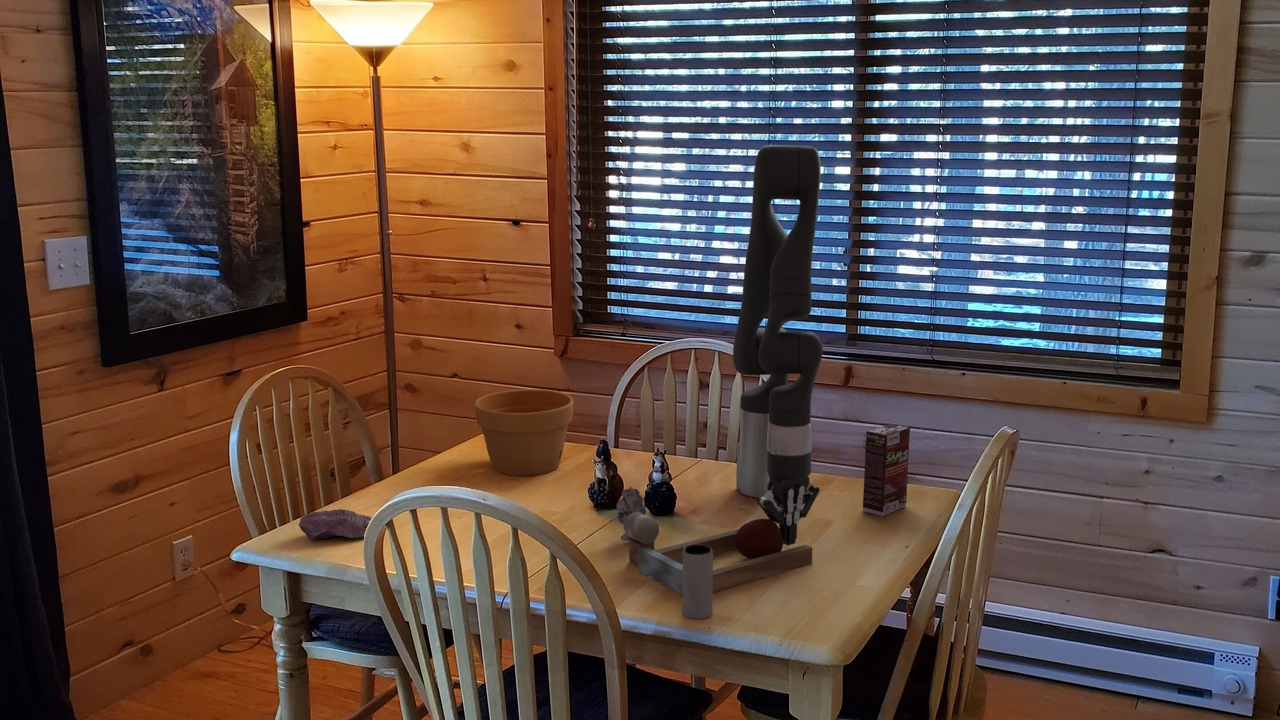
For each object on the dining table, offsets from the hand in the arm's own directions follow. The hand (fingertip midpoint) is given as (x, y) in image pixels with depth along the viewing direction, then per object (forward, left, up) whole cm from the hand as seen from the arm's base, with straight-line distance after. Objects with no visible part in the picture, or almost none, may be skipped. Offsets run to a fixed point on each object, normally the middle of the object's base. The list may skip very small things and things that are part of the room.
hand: (787, 543), depth 206 cm
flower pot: (-71, -12, -2) cm, 72 cm away
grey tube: (+12, -29, -2) cm, 31 cm away
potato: (0, -7, -2) cm, 7 cm away
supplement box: (-6, +30, -2) cm, 31 cm away
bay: (-2, -14, -1) cm, 14 cm away
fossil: (-52, -61, -2) cm, 80 cm away
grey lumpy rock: (-20, -19, -2) cm, 28 cm away
